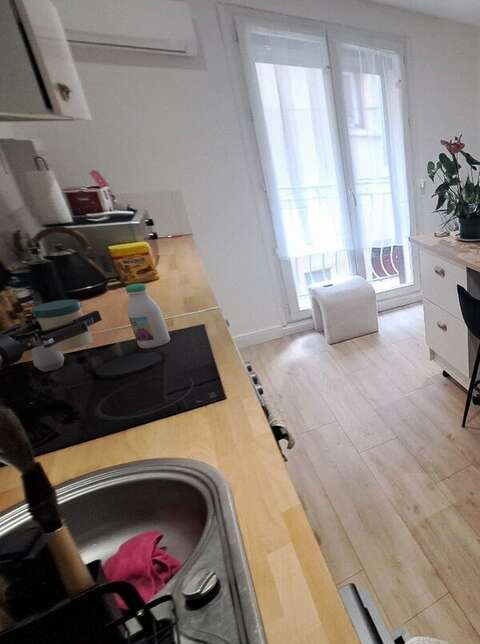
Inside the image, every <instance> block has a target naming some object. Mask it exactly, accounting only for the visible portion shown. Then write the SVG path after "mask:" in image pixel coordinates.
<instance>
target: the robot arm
mask: <svg viewBox="0 0 480 644" xmlns="http://www.w3.org/2000/svg"><path fill="white" fill-rule="evenodd" d="M83 315H84V316H81V317H79V318H77V319H74V320H73V322H70V323H67V324H64V325H60V326H57V327H53V328H50V329H46V330H43V331H42V329H41V327H40V324H39V322H38V320H37V319H36V320H35V321H33V319H26V320H24V322H25V324H23V323H16V324H14V325H12V326H10V327H7V328H5V329H2V330H1V331H0V370H2V369H5V368H7V367H9V366H11V365H13V364H16V363H18V362H19V361H20V360H21V359H22V357H23V355H24V353H25V352H29V351H31V350H32V349H33V348H35V347H38V346H41V345H44V347H45V348H49V347H51V346H53V345H55V344H56V343H59V342H61V341H64V340H66V339H69V338H72V337H74V336H77V335H79V334H82V333H84V332H87V331H89V330H90V329H89V330H88V327H90V326H92V325H94V324H97V323H99V322H101V321H103V319H102V316H101V314H100V311H99V310H94V311H91V312H88V313H86V314H83ZM37 329H38V330H37ZM35 334H37V336H38V337H37V336H36V335H35ZM38 338H39V340H38Z"/></svg>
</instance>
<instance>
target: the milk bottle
mask: <svg viewBox="0 0 480 644" xmlns="http://www.w3.org/2000/svg"><path fill="white" fill-rule="evenodd" d="M124 290H125V292H126V294H127V295H128V303H127V307H126V311H127V317H128V320H129V323H130V326H131V328H132V331H133V335H134V338H135V340H136V342H137V345H138V347H139V348H141V349H154V348H158V347H162V346H164V345H167V344H168V343H170V341H171V337H170V334H169V331H168V327H167V324H166V322H165V319H164V315H163V313H162V311H161V308H160V306H159V304H158V303H157V302H156V301H155V300H154V299H153V298H152V297H151V296H150V295H149V294H148V289H147V286H146V283H133V284H129V285H126V286H125V287H124Z"/></svg>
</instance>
